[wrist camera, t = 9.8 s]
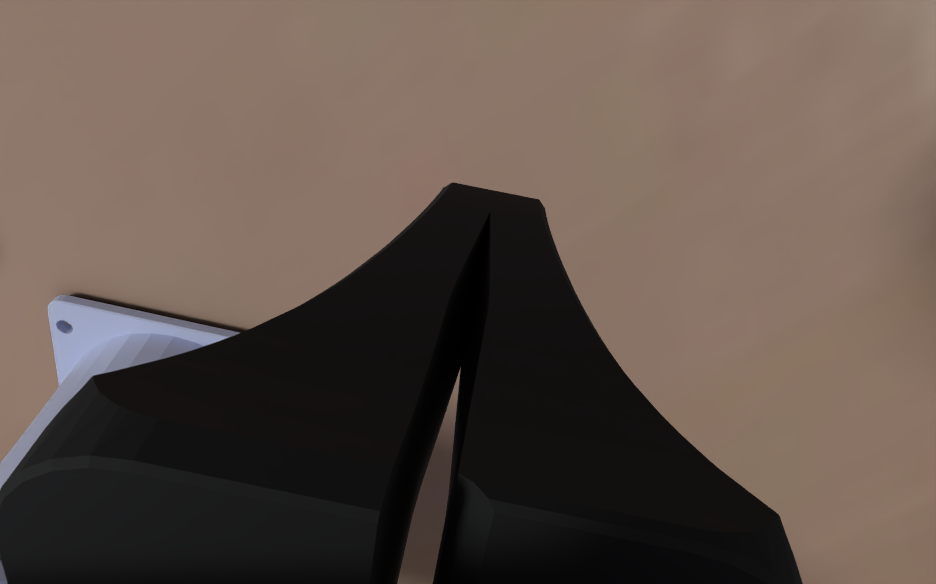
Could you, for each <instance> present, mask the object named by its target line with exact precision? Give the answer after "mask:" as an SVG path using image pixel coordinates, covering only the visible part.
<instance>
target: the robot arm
mask: <svg viewBox="0 0 936 584" xmlns="http://www.w3.org/2000/svg"><path fill="white" fill-rule="evenodd" d="M48 315H49V322H50V328H51V335H52V342H53V348H54V355H55V362H56V368H57V375H58V381H59V387H58V389H57V390H56V391H55V393H54V394H53V395H52V397H51V398H50V399H49V401H48V402H47V403H46V404H45V406H44V407H43V408H42V410H41V411H40V412H39V414H38V415H37V416H36V418H35V419H34V420H33V421H32V423H31V424H30V425H29V427H28V428H27V429H26V431H25V432H24V433H23V435H22V436H21V437H20V438H19V440H18V441H17V442H16V444H15V445H14V446H13V448H12V449H11V450H10V452H9V453H8V454H7V455H6V457H5V458H4V459H3V461H2V462H1V463H0V584H397V581H398V577H399V572H400V568H401V563H402V559H403V555H404V550H405V546H406V541H407V537H408V532H409V528H410V523H411V519H412V515H413V511H414V508H415V504H416V501H417V497H418V494H419V490H420V487H421V484H422V481H423V478H424V475H425V472H426V469H427V466H428V463H429V460H430V457H431V454H432V451H433V448H434V445H435V442H436V439H437V436H438V433H439V430H440V427H441V424H442V421H443V418H444V415H445V412H446V409H447V406H448V403H449V400H450V397H451V394H452V391H453V388H454V385H455V382H456V379H457V376H458V373H459V370H460V367H461V371H460V381H459V392H458V402H457V413H456V423H455V434H454V445H453V455H452V466H451V477H450V487H449V496H448V503H447V511H446V518H445V524H444V529H443V534H442V539H441V544H440V549H439V555H438V560H437V565H436V570H435V575H434V580H433V584H802V580H801V577H800V574H799V571H798V567H797V564H796V561H795V558H794V555H793V552H792V550H791V547H790V544H789V541H788V539H787V536H786V533H785V530H784V528H783V525H782V522H781V519H780V516H779V515H778V514H777V513H776V512H774V511H773V510H772V509H771V508H769V507H768V506H767V505H765V504H764V503H763V502H761V501H760V500H759V499H758V498H756V497H755V496H754V495H752V494H751V493H750V492H748V491H747V490H746V489H745V488H743V487H742V486H741V485H739V484H738V483H737V482H735V481H734V480H733V479H732V478H730V477H729V476H728V475H726V474H725V473H724V472H722V471H721V470H720V469H719V468H717V467H716V466H715V465H714V464H713V463H712V462H710V461H709V460H708V459H707V458H706V457H705V456H704V455H703V454H702V453H701V452H699V451H698V450H697V449H696V448H695V447H694V446H693V445H692V444H691V443H690V442H688V441H687V440H686V439H685V438H684V437H683V436H682V435H681V434H680V433H679V432H678V431H677V430H676V429H675V428H674V427H673V426H672V425H671V424H670V423H669V422H668V421H667V420H666V419H665V418H664V417H663V416H662V415H661V414H660V413H659V412H658V411H657V410H656V409H655V407H654V406H653V405H652V404H651V403H650V402H649V401H648V400H647V398H646V397H645V396H644V395H643V394H642V393H641V392H640V391H639V389H638V388H637V387H636V386H635V385H634V384H633V383H632V381H631V380H630V379H629V378H628V376H627V375H626V374H625V373H624V371H623V370H622V369H621V367H620V366H619V364H618V363H617V362H616V360H615V359H614V357H613V356H612V354H611V353H610V352H609V350H608V349H607V347H606V346H605V344H604V342H603V341H602V339H601V338H600V336H599V334H598V333H597V331H596V329H595V328H594V326H593V324H592V323H591V321H590V319H589V317H588V315H587V314H586V312H585V310H584V308H583V306H582V305H581V303H580V301H579V299H578V297H577V295H576V293H575V291H574V289H573V286H572V284H571V282H570V280H569V277H568V275H567V273H566V271H565V269H564V266H563V264H562V262H561V259H560V257H559V254H558V252H557V249H556V246H555V243H554V240H553V238H552V235H551V231H550V228H549V225H548V221H547V217H546V212H545V208H544V206H543V205H542V203H541V202H540V200H539V199H533V198H528V197H523V196H518V195H513V194H508V193H503V192H498V191H493V190H488V189H483V188H478V187H473V186H468V185H463V184H458V183H451V184H449V185H447V186H446V187H444V188H443V189H442V190H441V192H440V193H439V194H438V195H437V197H436V198H435V199H434V200H433V201H432V202H431V203H430V205H429V206H428V207H427V208H426V209H425V210H424V211H423V212H422V213H421V214H420V215H419V216H418V217H417V218H416V219H415V220H414V221H413V222H412V223H411V224H410V225H409V226H408V227H406V228H405V229H404V230H403V231H402V232H401V233H400V234H399V235H398V236H396V237H395V238H394V239H393V240H392V241H391V242H390V243H389V244H388V245H386V246H385V247H384V248H383V249H382V250H380V251H379V252H378V253H377V254H375V255H374V256H373V257H371V258H370V259H369V260H367V261H366V262H365V263H364V264H362V265H361V266H360V267H358V268H357V269H356V270H354V271H353V272H352V273H351V274H349V275H348V276H346V277H345V278H343V279H342V280H340V281H339V282H337V283H336V284H335V285H333V286H331V287H330V288H328V289H327V290H325V291H324V292H322V293H320V294H319V295H317V296H315V297H314V298H312V299H310V300H309V301H307V302H305V303H303V304H302V305H300V306H298V307H296V308H294V309H292V310H290V311H288V312H286V313H284V314H281V315H279V316H277V317H275V318H273V319H271V320H269V321H267V322H264V323H262V324H260V325H258V326H256V327H254V328H252V329H249V330H247V331H244V332H242V333H239V332H234V331H230V330H225V329H221V328H216V327H211V326H207V325H202V324H198V323H193V322H188V321H184V320H179V319H175V318H170V317H165V316H161V315H156V314H152V313H147V312H142V311H138V310H133V309H129V308H124V307H119V306H115V305H110V304H105V303H101V302H96V301H92V300H87V299H82V298H78V297H73V296H69V295H59V296H56V297H55V298H54V299H53V301H52V302H51V303H50V304H49V305H48ZM65 321H66V322H68V323H69V324H71V325H72V326H71V325H68V324H67V323H66V322H65Z"/></svg>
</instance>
